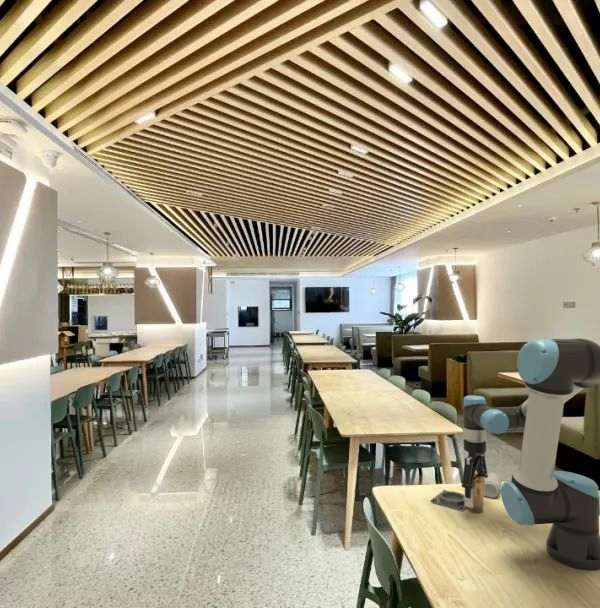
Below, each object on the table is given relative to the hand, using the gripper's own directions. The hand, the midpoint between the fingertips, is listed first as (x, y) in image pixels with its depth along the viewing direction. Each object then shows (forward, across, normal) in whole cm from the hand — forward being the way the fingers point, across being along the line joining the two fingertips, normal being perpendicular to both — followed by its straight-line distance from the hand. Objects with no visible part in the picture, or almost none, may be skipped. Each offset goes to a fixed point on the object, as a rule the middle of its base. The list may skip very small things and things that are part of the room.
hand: (475, 500), depth 165 cm
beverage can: (0, -13, +1) cm, 13 cm away
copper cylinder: (+3, 0, 0) cm, 3 cm away
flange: (+3, -2, -9) cm, 10 cm away
